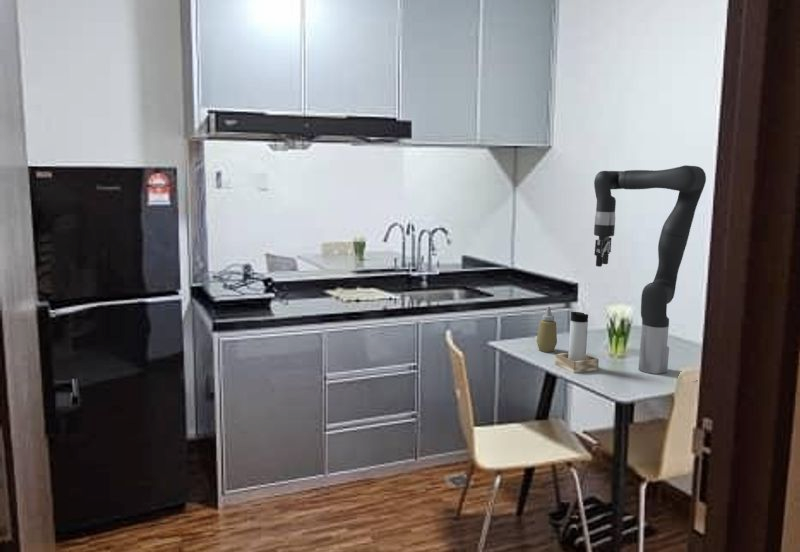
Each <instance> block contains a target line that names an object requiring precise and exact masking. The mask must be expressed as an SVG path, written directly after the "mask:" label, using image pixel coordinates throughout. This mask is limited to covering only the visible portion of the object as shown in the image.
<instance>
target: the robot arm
mask: <svg viewBox="0 0 800 552" xmlns="http://www.w3.org/2000/svg"><path fill="white" fill-rule="evenodd" d="M706 181H707V176H706V171H704V169H703V168H702V167H701V166H697V165H686V164H685V165H681V166H677V167H672V168H668V169H660V170H658V169H657V170H649V169H645V170H644V169H634V170H633V169H631V170H630V169H629V170H621V171H620V170H600V171H599V172H598V173H597V174H595V177H594V181H593V182H594V183H593V186H594V194H595V198H596V207H595V216H594V229H593V234H594V236H596V237H597V236H598V239H595V241H594V242H595V244H594V256H595V258H596V259H595V266H596V267H600V268H602V267H603V265H608V264H609V255H610V254H611V252H612V237H614V236H615V231H616V230H615V229H616V226H615V225H616V206H617V205H616V203H617V199H616V197H614V196H613V195H612V190H622V189H623V190H649V189H666V190H672V191H677V192H678V196H677V198H676V199H677V200H676V201H675V202H676V203H675V206H674V207H673V209H672V211H671V212H670V214H669V215H668V217H667V218H666V220H665V221H664V224H663V225H662V228H661V232H660V235H659V240H658V244H657V245H658V246H657V247H658V248H657V254H658V263H657V265H658V266H657V269H656V274H655V276H654V279H653V281H652V282H649V283H647V284H646V285H645V286H644V287H643V290H642V293H641V297H640V317H641V330H640V331H641V333H640V347H639V355H638V356H639V359H638V370H639V371H641V372H643V373H648V374H654V375H655V374H657V375H659V374H664V373H668V368H669V355H670V347H669V346H668V338H669V330H670V328H669V327H670V318H669V317H668V316H667V314H668V313H667V308H668V307H667V306H668V304H670V303H671V302H672V301H673V299H674V297H675V292H676V288H677V287H676V285H677V281H678V274H679V270H680V266H681V263H682V261H683V256H684V254H685V251H686V250H685V249H686V247H687V244H688V240H689V236H690V232H691V228H692V224H693V222H694V221H693V220H694V217H695V214H696V209H697V206H698V204H699V201H700V198H701V196H702V193H703V191H704V188H705V186H706Z"/></svg>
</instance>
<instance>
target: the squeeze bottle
mask: <svg viewBox="0 0 800 552" xmlns="http://www.w3.org/2000/svg"><path fill="white" fill-rule="evenodd" d="M557 331H558V330H557V322H556V321H555V316H554V315H553V314H552V309H551V306H547V307H546V311H545V313H544V314H543V315H542V316H541V320H540V321H539V324H538V330H537V335H536V345H537V348H538V350H539V351H540V352H544V353H552V352H554V351H555V349H556V346H557V343H558V341H557V340H558V338H557V337H558V336H557Z"/></svg>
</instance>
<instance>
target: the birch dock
mask: <svg viewBox="0 0 800 552" xmlns="http://www.w3.org/2000/svg"><path fill="white" fill-rule="evenodd" d="M568 354H569V352H565V353H557V354H555V361H554V362H555V363H554V365H555V366H557V367H560V368H561V369H564V370H566V371H569V372H571V373H573V374H577V373H582V372H591V371H599V358H597V357H594V356H592V355H589V354H587V353H586V360H583V361H572V360H570V359H568Z"/></svg>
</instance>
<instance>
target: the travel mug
mask: <svg viewBox="0 0 800 552" xmlns="http://www.w3.org/2000/svg"><path fill="white" fill-rule="evenodd" d="M588 327H589V314H588V313H585V312H582V311H581V312H579V311H570V323H569V340H568V341H569V342H568V353H569V354H568V359H570V360H572V361H583V360H586V354H587V341H588V329H589V328H588Z"/></svg>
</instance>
